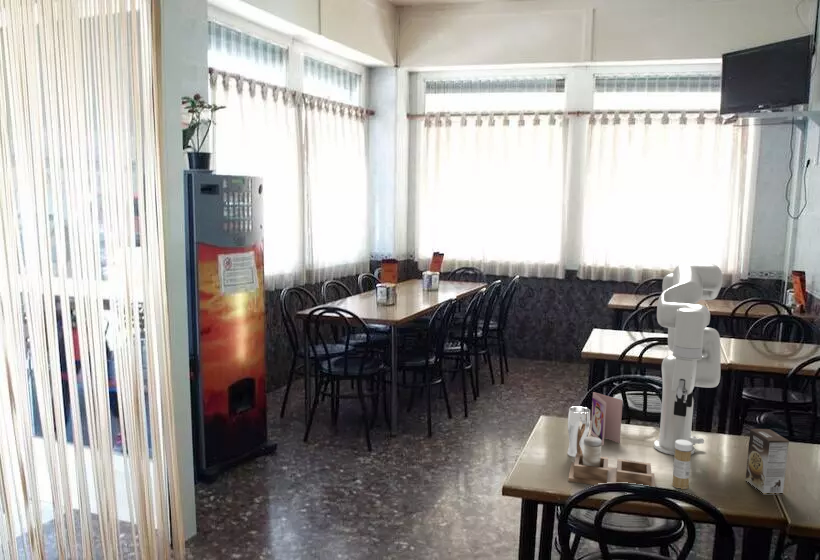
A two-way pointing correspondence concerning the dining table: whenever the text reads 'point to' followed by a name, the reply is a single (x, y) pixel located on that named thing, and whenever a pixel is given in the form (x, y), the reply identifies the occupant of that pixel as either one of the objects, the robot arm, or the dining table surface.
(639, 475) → the condiment rack
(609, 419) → the greeting card
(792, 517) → the dining table surface
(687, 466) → the sprinkles bottle
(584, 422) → the silver metal can
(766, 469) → the coffee box
